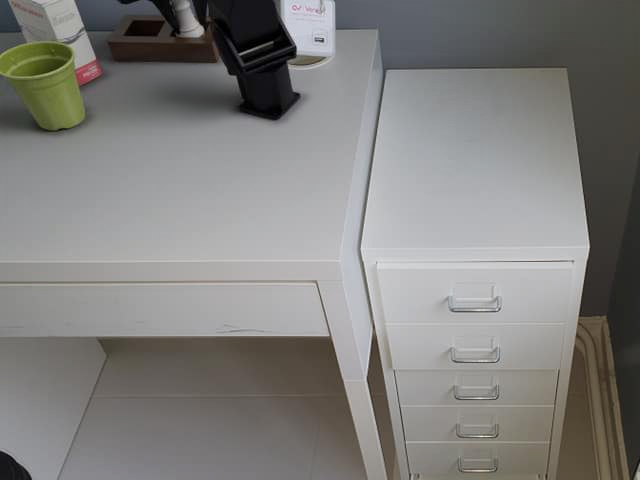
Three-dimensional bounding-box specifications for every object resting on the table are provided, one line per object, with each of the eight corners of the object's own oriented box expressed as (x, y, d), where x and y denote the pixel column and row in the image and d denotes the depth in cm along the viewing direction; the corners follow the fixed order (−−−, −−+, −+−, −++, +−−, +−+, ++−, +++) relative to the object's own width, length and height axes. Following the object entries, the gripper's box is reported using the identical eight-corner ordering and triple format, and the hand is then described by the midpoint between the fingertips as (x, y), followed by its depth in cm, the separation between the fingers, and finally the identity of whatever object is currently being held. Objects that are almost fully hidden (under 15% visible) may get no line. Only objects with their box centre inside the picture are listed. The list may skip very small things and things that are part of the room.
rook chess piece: (183, 51, 110) (164, -2, 104) (174, 39, 112) (154, -14, 106) (211, 43, 111) (194, -10, 105) (202, 30, 114) (185, -23, 107)
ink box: (106, 74, 107) (72, -9, 98) (77, 89, 105) (40, 5, 95) (67, 57, 110) (31, -25, 101) (38, 72, 107) (-2, -12, 98)
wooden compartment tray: (217, 62, 110) (212, 43, 108) (114, 61, 110) (106, 41, 107) (229, 34, 115) (224, 15, 113) (131, 33, 115) (124, 14, 113)
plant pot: (60, 94, 104) (32, 34, 97) (114, 109, 102) (89, 49, 95) (10, 128, 98) (-23, 67, 91) (66, 145, 96) (36, 84, 89)
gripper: (117, -48, 90) (158, 71, 102) (249, -86, 99) (272, 28, 111) (79, -75, 96) (122, 41, 108) (207, -108, 104) (234, 3, 116)
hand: (190, 29), depth 110 cm, fingers closed on rook chess piece, 4 cm apart
